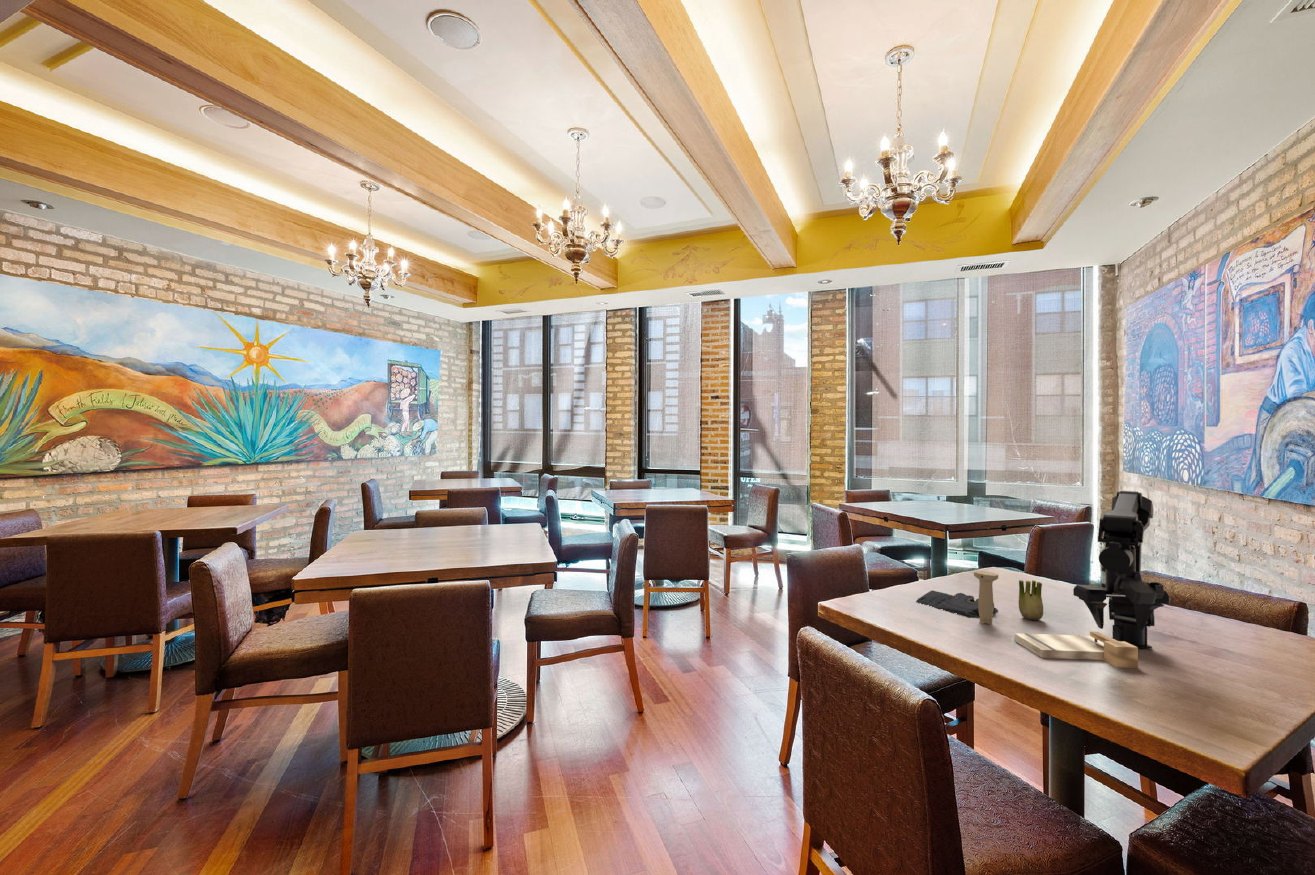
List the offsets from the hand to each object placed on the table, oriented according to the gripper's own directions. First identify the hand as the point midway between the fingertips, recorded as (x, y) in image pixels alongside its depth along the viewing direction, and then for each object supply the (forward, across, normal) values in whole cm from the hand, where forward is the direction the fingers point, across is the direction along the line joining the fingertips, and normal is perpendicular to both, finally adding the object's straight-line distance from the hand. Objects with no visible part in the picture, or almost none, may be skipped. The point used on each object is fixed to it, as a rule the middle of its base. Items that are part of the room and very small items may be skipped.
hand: (1120, 628), depth 134 cm
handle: (+9, -17, +29) cm, 35 cm away
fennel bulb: (+9, -1, +34) cm, 35 cm away
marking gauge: (+9, 0, +3) cm, 9 cm away
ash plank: (+9, -7, +8) cm, 14 cm away
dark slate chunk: (+10, -19, +45) cm, 50 cm away
